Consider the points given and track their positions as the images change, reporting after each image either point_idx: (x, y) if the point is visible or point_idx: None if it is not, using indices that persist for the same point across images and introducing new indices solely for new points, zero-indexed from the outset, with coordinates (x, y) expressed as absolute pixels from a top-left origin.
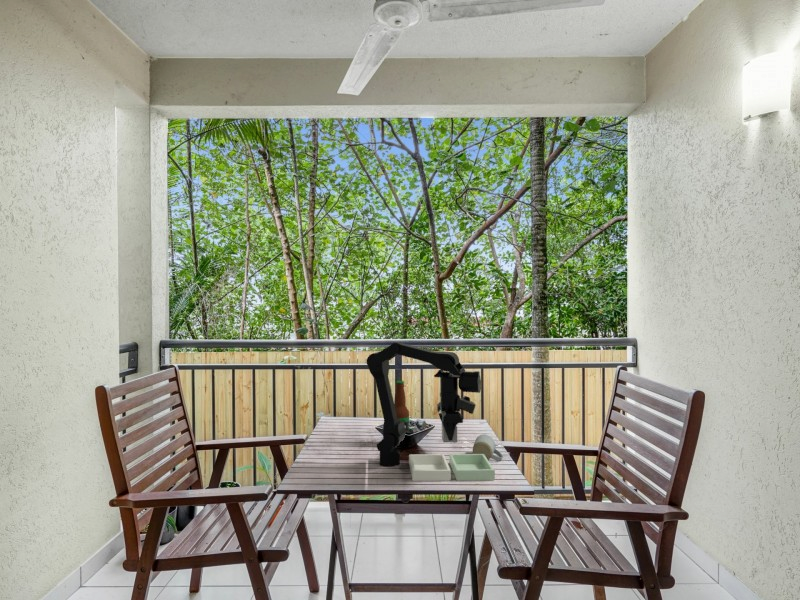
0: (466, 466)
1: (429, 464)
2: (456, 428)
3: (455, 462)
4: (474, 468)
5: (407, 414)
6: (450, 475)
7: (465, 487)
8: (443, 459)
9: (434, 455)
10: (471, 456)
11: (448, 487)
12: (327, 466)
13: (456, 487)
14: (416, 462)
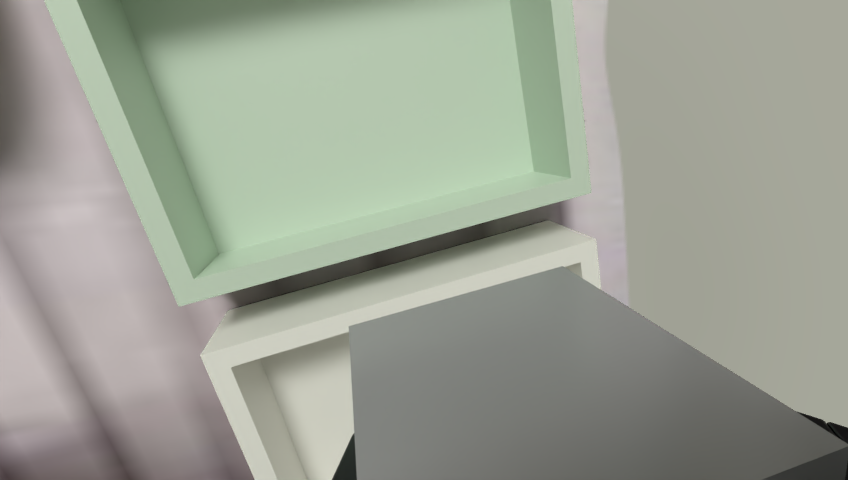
0: (239, 130)
1: (283, 404)
2: (787, 425)
3: (407, 224)
4: (271, 56)
5: None
6: (574, 232)
7: (602, 123)
8: (346, 331)
9: (255, 418)
10: (116, 76)
11: (608, 224)
12: None
13: (605, 178)
14: None
